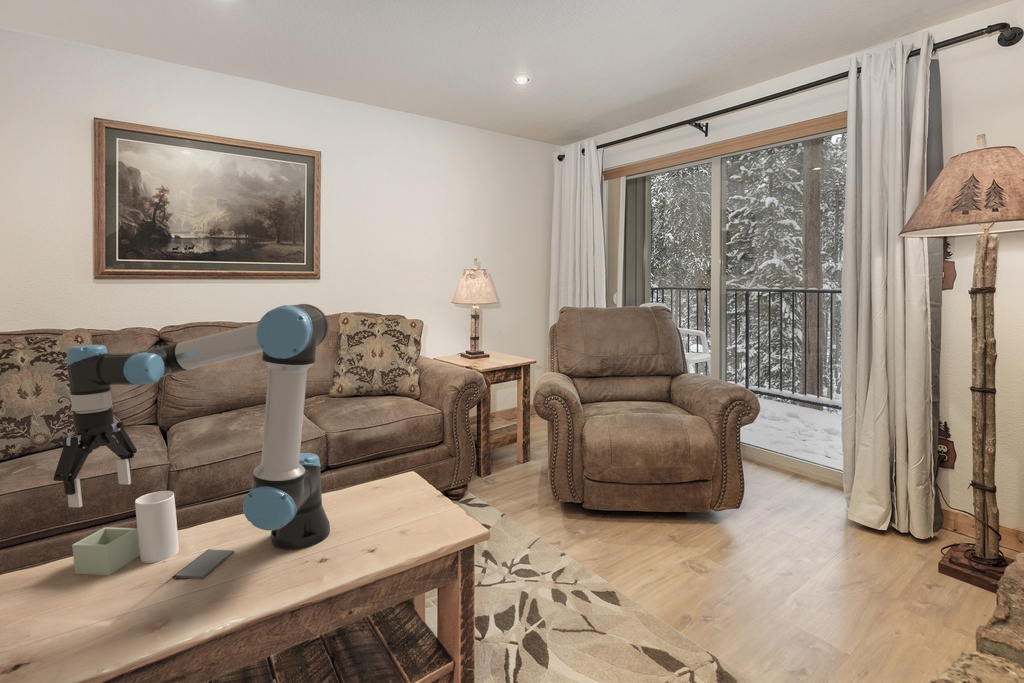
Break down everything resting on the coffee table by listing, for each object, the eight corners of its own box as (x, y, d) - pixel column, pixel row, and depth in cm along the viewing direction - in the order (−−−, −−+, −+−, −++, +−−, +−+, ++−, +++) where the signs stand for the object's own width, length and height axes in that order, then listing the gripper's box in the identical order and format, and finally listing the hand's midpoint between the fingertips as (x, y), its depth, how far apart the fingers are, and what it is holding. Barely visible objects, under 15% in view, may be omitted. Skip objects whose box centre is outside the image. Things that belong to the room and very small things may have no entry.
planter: (140, 558, 132) (137, 528, 131) (110, 578, 123) (106, 546, 123) (108, 556, 133) (105, 527, 132) (75, 576, 124) (72, 544, 123)
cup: (160, 567, 128) (154, 505, 126) (132, 563, 130) (126, 502, 128) (186, 550, 136) (181, 492, 134) (160, 547, 138) (155, 489, 136)
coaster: (234, 552, 135) (234, 550, 135) (202, 578, 123) (202, 576, 123) (191, 550, 136) (191, 548, 136) (155, 576, 124) (155, 574, 124)
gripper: (122, 397, 137) (129, 475, 139) (25, 423, 112) (36, 517, 114) (148, 398, 136) (155, 476, 138) (56, 423, 111) (67, 518, 114)
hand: (101, 494), depth 126 cm, fingers open, 13 cm apart
